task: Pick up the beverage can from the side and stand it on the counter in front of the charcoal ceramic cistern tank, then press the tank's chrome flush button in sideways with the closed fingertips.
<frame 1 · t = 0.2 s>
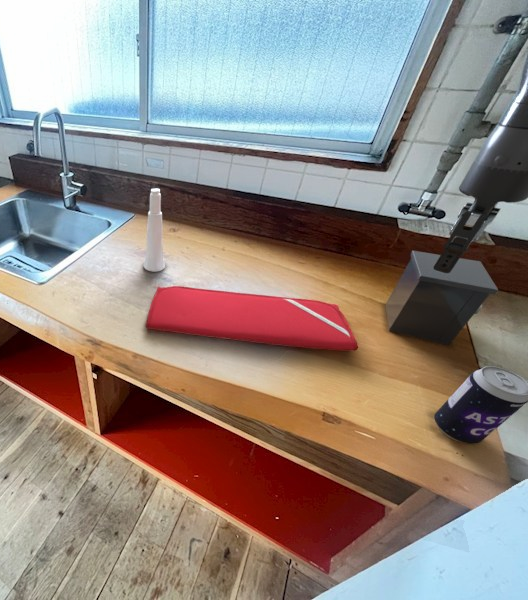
hand: (447, 262, 55), 18 cm above the worktop, tool pointing down, fingers open, 8 cm apart
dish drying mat: (241, 321, 72), on the worktop
beverage can: (453, 430, 50), on the worktop
flush button: (468, 305, 63), point 7 cm above the worktop, slide at -0.1 cm
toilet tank: (414, 323, 69), on the worktop
cosmetic bottle: (154, 266, 92), on the worktop
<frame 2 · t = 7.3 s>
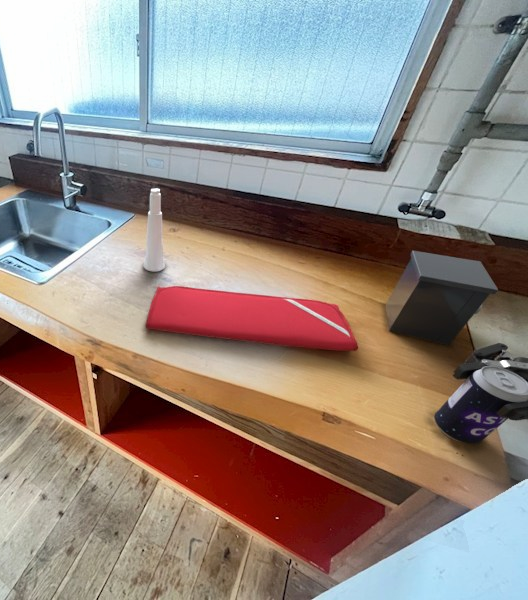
hand: (479, 391, 44), 10 cm above the worktop, tool horizontal, fingers closed on beverage can, 5 cm apart
beverage can: (453, 430, 50), on the worktop, touching gripper
everything else where it was.
when the fingers open (10 cm above the worktop, at t = 14.5 s): beverage can stays where it is, on the worktop.
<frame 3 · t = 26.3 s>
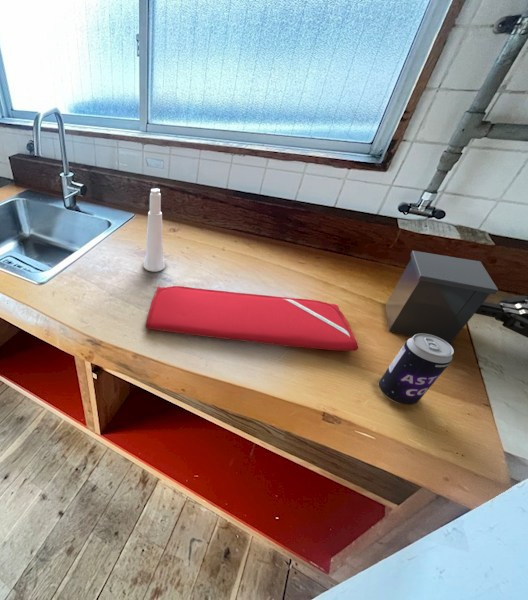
hand: (471, 305, 63), 7 cm above the worktop, tool horizontal, fingers closed
beverage can: (395, 394, 56), on the worktop
flush button: (462, 304, 63), point 7 cm above the worktop, slide at 0.8 cm, touching gripper
everything else where it was.
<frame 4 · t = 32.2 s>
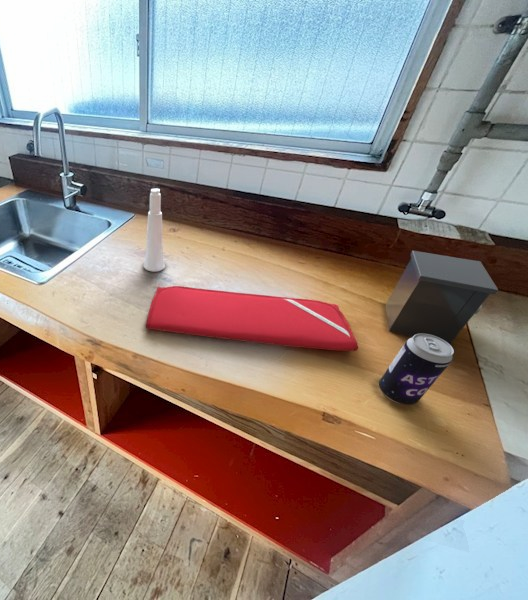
flush button: (468, 305, 63), point 7 cm above the worktop, slide at -0.1 cm
everything else where it was.
at the end: beverage can inside the target area (0.1 cm from its centre), on the worktop; flush button pulled out 1.1 cm at the most during the clip, back to where it started at the end; flush button slide at -0.1 cm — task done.
